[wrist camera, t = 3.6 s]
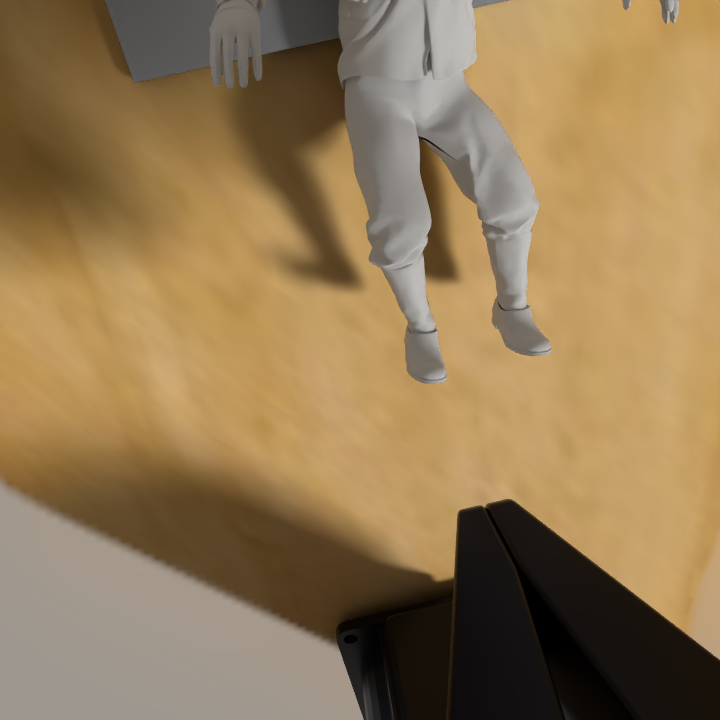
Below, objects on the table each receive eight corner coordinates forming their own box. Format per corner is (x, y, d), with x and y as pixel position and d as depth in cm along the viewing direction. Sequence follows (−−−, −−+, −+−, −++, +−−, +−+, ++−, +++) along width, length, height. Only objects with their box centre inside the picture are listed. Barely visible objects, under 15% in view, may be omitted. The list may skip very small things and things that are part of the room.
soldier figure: (289, 433, 11) (16, -867, 4) (252, 310, 15) (82, -449, 7) (620, 343, 12) (915, -693, 5) (511, 253, 16) (590, -421, 9)
